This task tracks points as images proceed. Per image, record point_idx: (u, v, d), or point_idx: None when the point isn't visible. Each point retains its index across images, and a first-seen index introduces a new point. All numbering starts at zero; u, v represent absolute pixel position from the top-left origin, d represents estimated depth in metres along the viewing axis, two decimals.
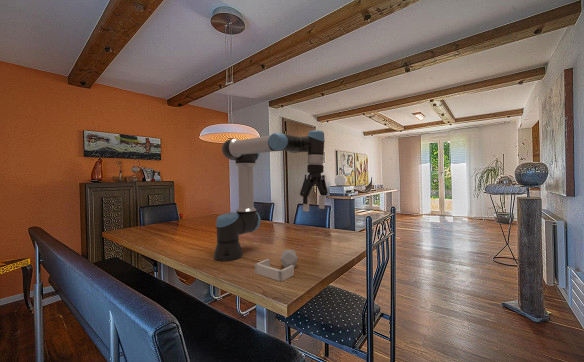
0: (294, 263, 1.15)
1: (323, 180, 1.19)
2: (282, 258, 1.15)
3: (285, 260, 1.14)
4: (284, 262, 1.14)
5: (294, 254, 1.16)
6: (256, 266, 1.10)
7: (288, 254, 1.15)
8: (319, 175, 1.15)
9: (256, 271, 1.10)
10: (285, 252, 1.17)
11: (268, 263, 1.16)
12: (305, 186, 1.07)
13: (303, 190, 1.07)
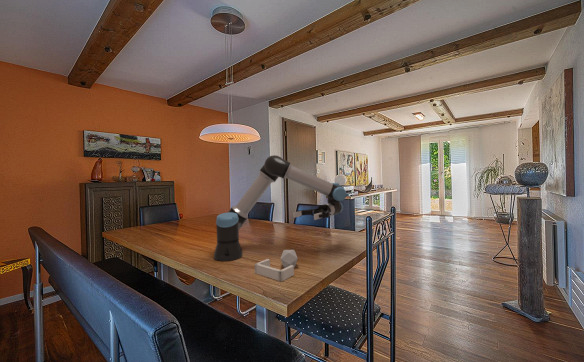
0: (294, 263, 1.15)
1: None
2: (282, 258, 1.15)
3: (285, 260, 1.14)
4: (284, 262, 1.14)
5: (294, 254, 1.16)
6: (256, 266, 1.10)
7: (288, 254, 1.15)
8: None
9: (256, 271, 1.10)
10: (285, 252, 1.17)
11: (268, 263, 1.16)
12: (329, 215, 1.30)
13: (328, 215, 1.28)
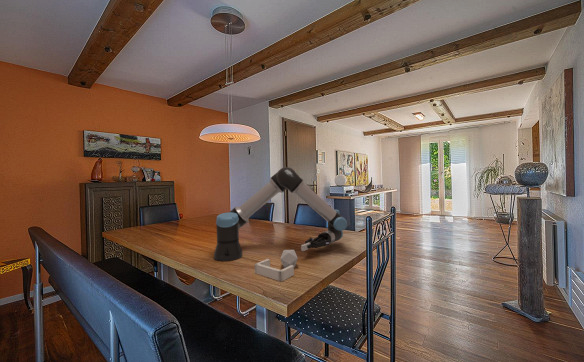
0: (294, 263, 1.15)
1: None
2: (282, 258, 1.15)
3: (285, 260, 1.14)
4: (284, 262, 1.14)
5: (294, 254, 1.16)
6: (256, 266, 1.10)
7: (288, 254, 1.15)
8: None
9: (256, 271, 1.10)
10: (285, 252, 1.17)
11: (268, 263, 1.16)
12: (321, 245, 1.32)
13: (318, 245, 1.31)
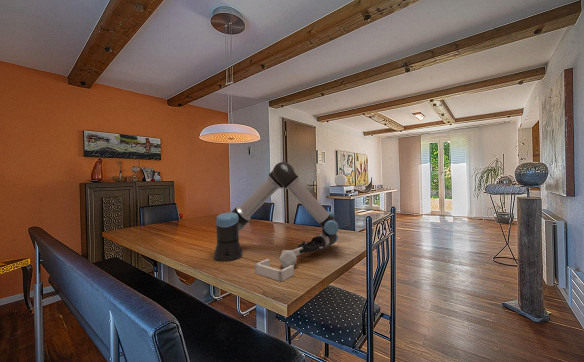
0: (293, 263, 1.15)
1: None
2: (281, 258, 1.15)
3: (284, 260, 1.14)
4: (283, 262, 1.14)
5: (293, 254, 1.16)
6: (256, 266, 1.10)
7: (287, 254, 1.14)
8: None
9: (256, 271, 1.10)
10: (284, 252, 1.17)
11: (268, 263, 1.16)
12: (314, 250, 1.25)
13: (311, 250, 1.24)
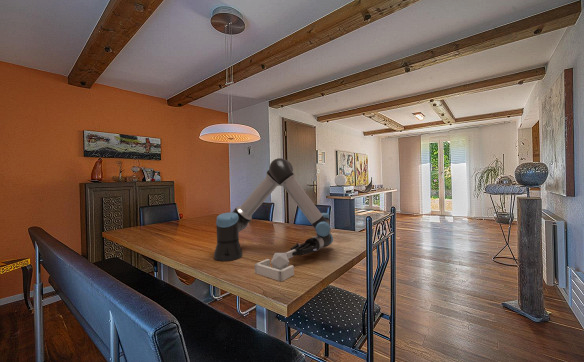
0: (285, 267, 1.11)
1: None
2: (272, 261, 1.11)
3: (275, 263, 1.10)
4: (274, 265, 1.10)
5: (285, 257, 1.12)
6: (256, 266, 1.10)
7: (278, 257, 1.10)
8: None
9: (256, 271, 1.10)
10: (275, 254, 1.13)
11: (268, 263, 1.16)
12: (307, 252, 1.22)
13: (304, 252, 1.20)
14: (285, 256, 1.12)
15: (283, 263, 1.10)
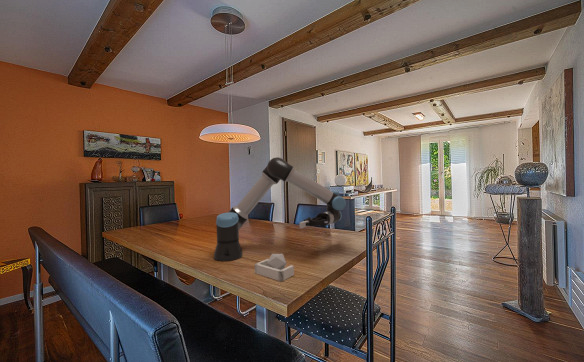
0: (282, 268, 1.09)
1: None
2: (269, 262, 1.09)
3: (272, 265, 1.09)
4: None
5: (282, 258, 1.10)
6: (256, 266, 1.10)
7: (275, 258, 1.09)
8: None
9: (256, 271, 1.10)
10: (272, 256, 1.12)
11: None
12: (319, 224, 1.30)
13: (317, 223, 1.29)
14: (282, 257, 1.11)
15: (280, 264, 1.08)
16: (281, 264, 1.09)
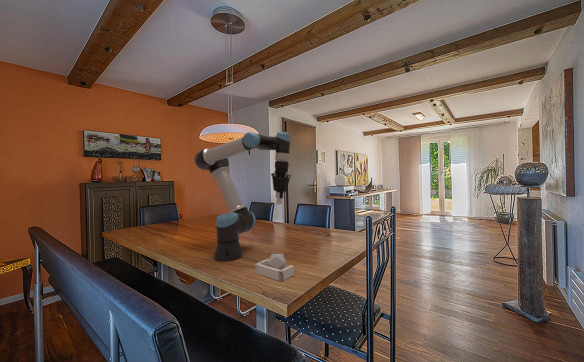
0: (282, 268, 1.09)
1: (276, 177, 1.38)
2: (269, 262, 1.09)
3: (272, 265, 1.09)
4: None
5: (282, 258, 1.10)
6: (256, 266, 1.10)
7: (275, 258, 1.09)
8: None
9: (256, 271, 1.10)
10: (272, 256, 1.11)
11: None
12: (287, 184, 1.32)
13: (285, 188, 1.32)
14: (282, 257, 1.11)
15: (280, 264, 1.08)
16: (281, 264, 1.09)
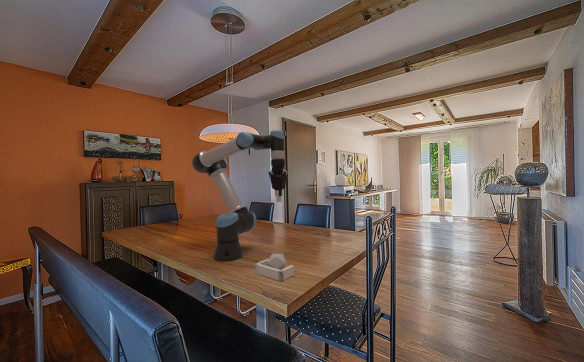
0: (282, 268, 1.09)
1: (273, 175, 1.38)
2: (269, 262, 1.09)
3: (272, 265, 1.09)
4: None
5: (282, 258, 1.10)
6: (256, 266, 1.10)
7: (275, 258, 1.09)
8: None
9: (256, 271, 1.10)
10: (272, 256, 1.12)
11: None
12: (285, 181, 1.32)
13: (284, 185, 1.32)
14: (282, 257, 1.11)
15: (280, 264, 1.08)
16: (281, 264, 1.09)
